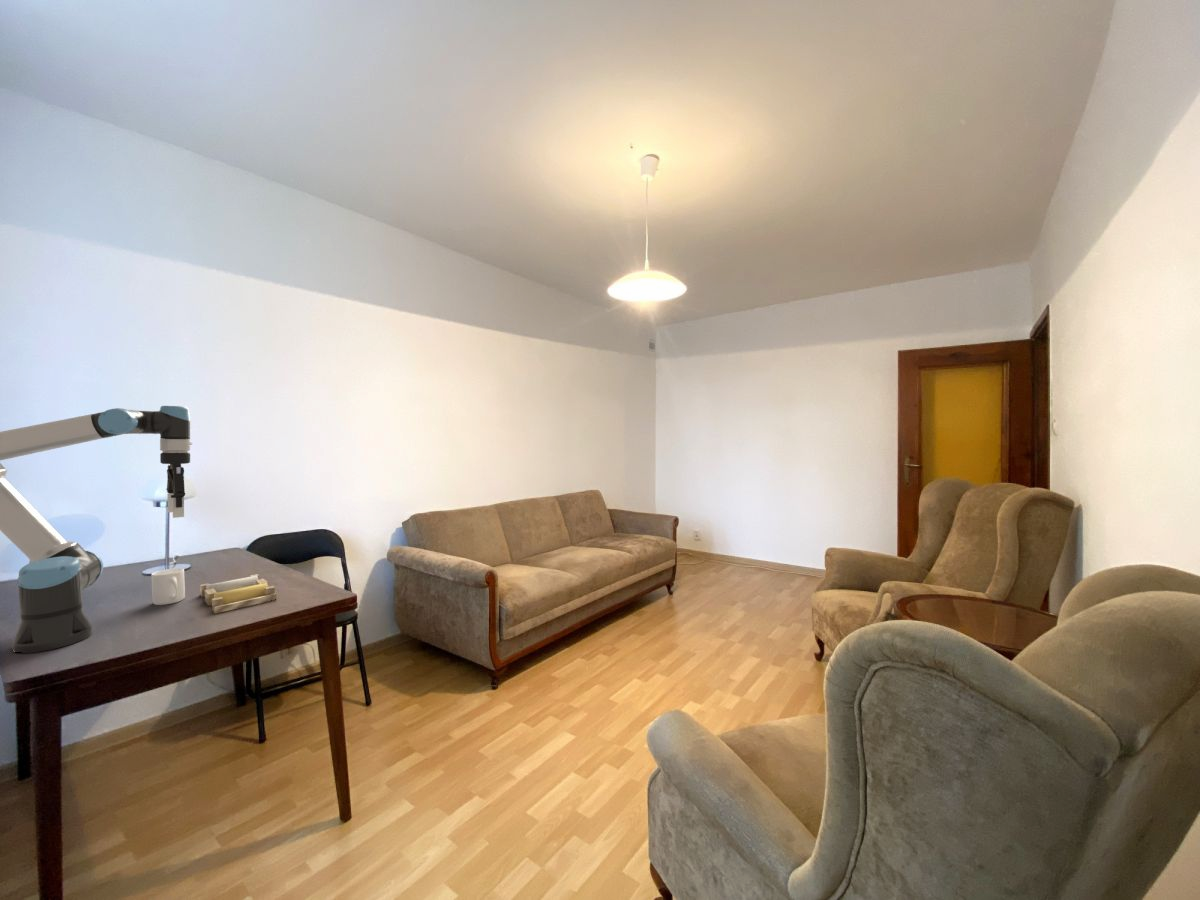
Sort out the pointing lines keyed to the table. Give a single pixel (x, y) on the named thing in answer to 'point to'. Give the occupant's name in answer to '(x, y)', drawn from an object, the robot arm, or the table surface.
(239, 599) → the yellow cylinder
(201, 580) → the table surface
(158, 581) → the mug
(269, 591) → the wooden rack
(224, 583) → the white cylinder
